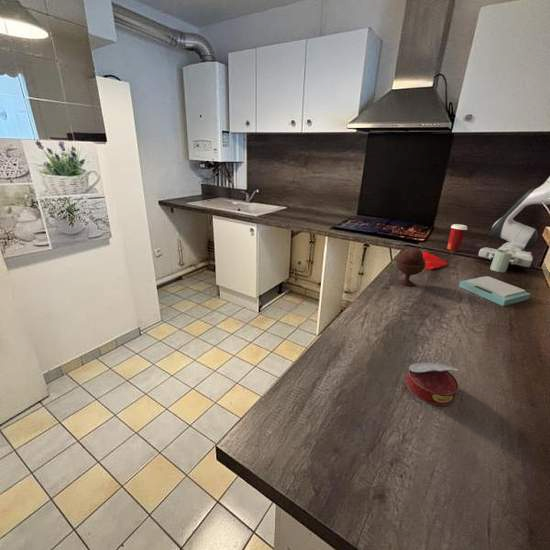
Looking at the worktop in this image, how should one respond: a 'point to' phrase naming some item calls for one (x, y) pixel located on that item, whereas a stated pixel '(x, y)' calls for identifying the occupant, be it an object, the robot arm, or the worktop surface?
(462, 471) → the worktop surface
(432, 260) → the cloth
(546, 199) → the robot arm
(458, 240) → the paper cup
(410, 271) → the ice cream bowl
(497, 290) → the scale
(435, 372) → the canned food
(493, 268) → the cup
